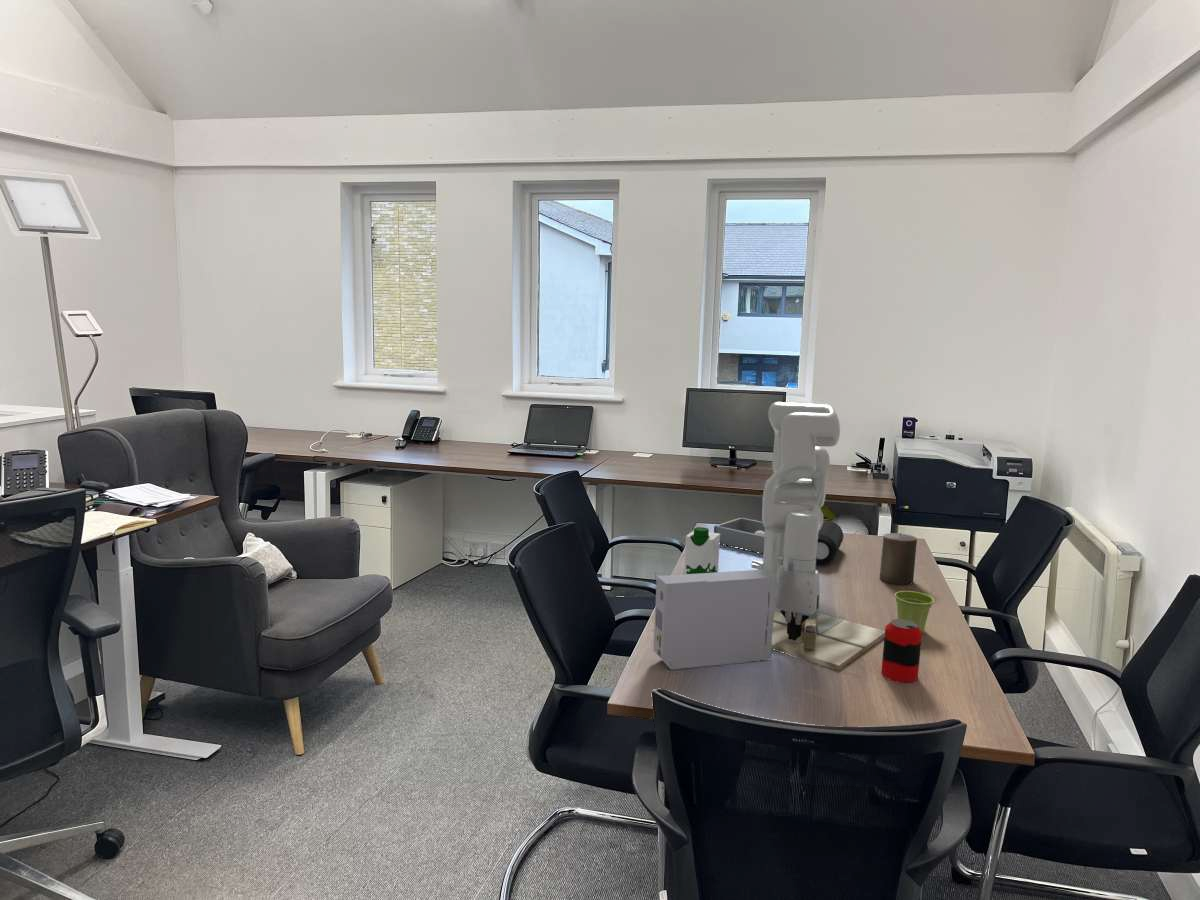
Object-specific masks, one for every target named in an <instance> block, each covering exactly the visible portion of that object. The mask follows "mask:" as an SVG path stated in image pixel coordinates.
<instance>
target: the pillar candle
mask: <svg viewBox="0 0 1200 900" xmlns="http://www.w3.org/2000/svg"><path fill="white" fill-rule="evenodd" d="M882 536H883V537H882V538H883V539H882V549H881V555H880V556H881V557H880V570H879V571H880V572H879V579H880V581H882V582H884V583H887V584H890V585H895V584H897V585H898V586H909V585H908V584H910V585H912V584H913V583H914V577H915V566H916V556H917V555H916V554H917V543H918V538H917V537H916V536H915V535H914V536H913V535H911V534H906V533H902V532H899V533H898V532H896V533H895V532H888V533H883V534H882ZM911 583H912V584H911ZM897 585H896V586H897Z"/></svg>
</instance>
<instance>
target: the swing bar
mask: <svg viewBox="0 0 1200 900" xmlns="http://www.w3.org/2000/svg"><path fill="white" fill-rule="evenodd" d="M819 613H820V612H819V611H818V615H819ZM802 629H803V630H804V648H809V649H815V639H816V631H817V630H818V618H817V619H807V620H805V621H804V622H803V623H802Z"/></svg>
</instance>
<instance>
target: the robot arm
mask: <svg viewBox="0 0 1200 900" xmlns="http://www.w3.org/2000/svg"><path fill="white" fill-rule="evenodd" d="M767 416H768V421H769V423H770V426H771V427H772V429H773V432H774V440H773V441H774V442H773V452H772V463H771V467H772V471H773V473H772V474H771V476H770V477H769V478H768V479H767V480H766V481H765V483H764V487H763V493H762V506H761V507H762V509H761V510H762V512H761V514H762V515H761V517H762V522H763V525H764V528H765V535H764V550H763V554H762V561H759V560H757V559H756V560H755V559H753V560H752V561H751V568H752V569H754V570H761V569H768V570H770V571H771V572H773V573H774V574H776V575H777V576H776V589H775V590H776V593H775V605H774V610H776V611H778V612H780V613H782V615H783V616H784V617H785V619H786V622H787V634H788V639H790V640H791V639H793V640H794V641H795V640H796V639H797V638H798V637H800V636H801V630H802V623H803V622H804V621H805V620H807V619H817V618H818V617H819V615H818V612H819V608H820V603H821V601H820V600H821V599H820V598H821V597H820V594H821V589H820V588H821V587H820V575H819V571H818V570H817V569H816V568H817V567H816V566H817V564H816V555H817V543H818V532H819V530H820V529H821V528H822V526H823V522H824V513H823V511H822V509H821V508H822V507H823V506H824V504H825V500H826V495H827V494H826V493H827V487H828V480H829V474H830V464H831V462H830V455H829V452H828V450H827V449H826V448H824V447H827V448H829V447H831V448H832V447H835V446H836V445H837V444H838V442H839V440H840V436H841V425H840V420H839V417H838V414H837V412H836V410H835V409H834V407H833V406H832V405H829V404H824V403H823V404H820V403H819V404H818V403H801V402H787V401H786V402H783V401H775V402H773V403H771V404H770V406H769V408H768V412H767ZM794 613H797V617H796V620H795V616H794Z"/></svg>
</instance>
